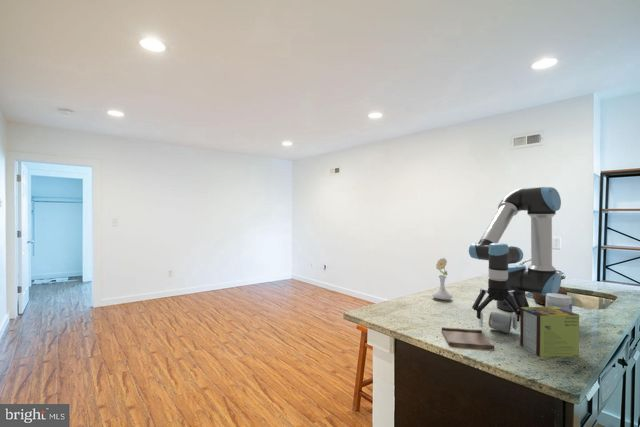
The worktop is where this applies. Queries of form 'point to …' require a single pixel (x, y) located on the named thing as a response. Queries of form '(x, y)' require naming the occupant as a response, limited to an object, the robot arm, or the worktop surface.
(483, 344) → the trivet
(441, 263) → the flower in vase
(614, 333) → the worktop surface
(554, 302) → the supplement tub
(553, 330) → the protein box
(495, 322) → the ceramic mug
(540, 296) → the bread
